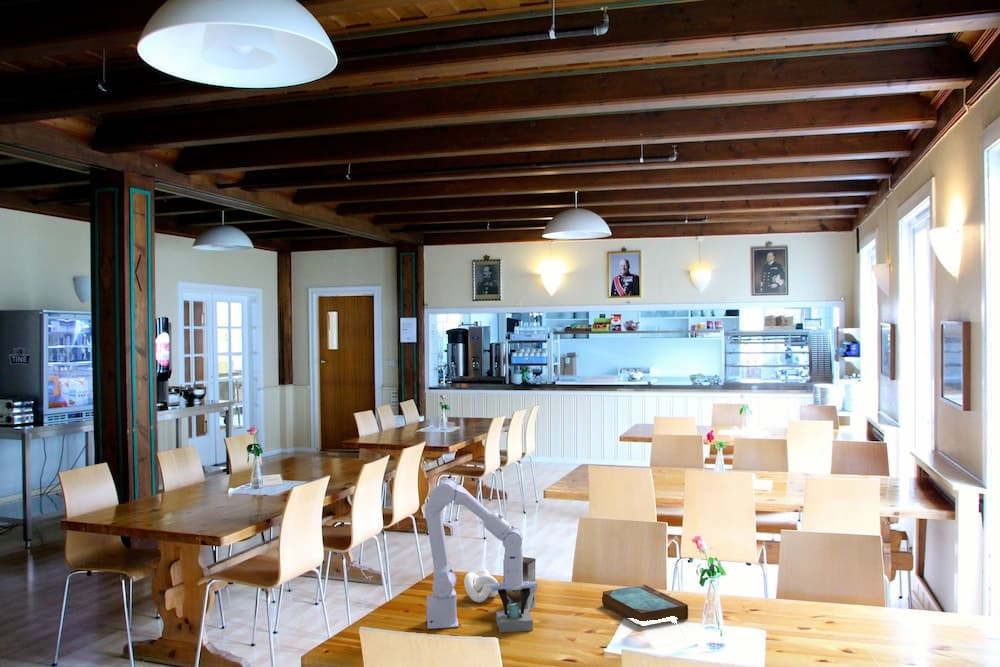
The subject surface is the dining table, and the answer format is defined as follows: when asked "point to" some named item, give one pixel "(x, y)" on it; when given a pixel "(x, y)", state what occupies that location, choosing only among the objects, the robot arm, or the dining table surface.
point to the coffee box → (528, 575)
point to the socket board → (514, 621)
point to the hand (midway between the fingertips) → (514, 613)
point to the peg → (514, 610)
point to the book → (643, 603)
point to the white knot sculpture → (479, 585)
